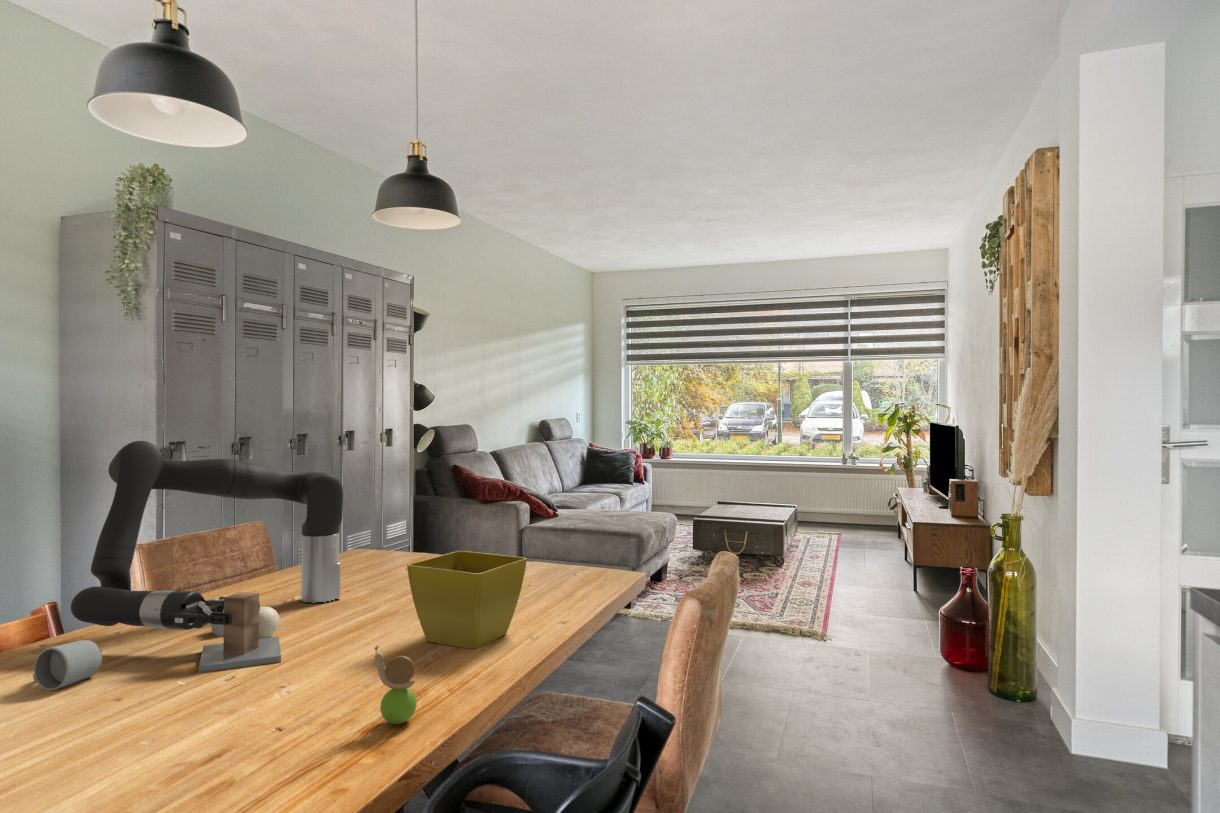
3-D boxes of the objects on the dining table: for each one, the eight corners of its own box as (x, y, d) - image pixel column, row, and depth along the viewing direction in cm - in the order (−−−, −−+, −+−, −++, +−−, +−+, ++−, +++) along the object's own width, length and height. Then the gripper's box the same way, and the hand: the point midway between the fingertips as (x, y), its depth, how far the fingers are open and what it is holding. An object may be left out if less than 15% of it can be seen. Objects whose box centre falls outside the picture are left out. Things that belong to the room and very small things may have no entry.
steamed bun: (286, 633, 160) (286, 603, 160) (267, 643, 153) (268, 611, 153) (257, 632, 161) (258, 602, 161) (237, 642, 154) (238, 610, 154)
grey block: (235, 628, 165) (236, 610, 165) (243, 632, 161) (243, 614, 161) (211, 632, 161) (211, 614, 161) (218, 637, 158) (218, 619, 158)
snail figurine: (378, 716, 116) (379, 640, 116) (419, 715, 116) (419, 640, 116) (369, 730, 110) (370, 651, 110) (412, 729, 111) (413, 650, 111)
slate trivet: (278, 642, 154) (278, 636, 154) (281, 661, 141) (281, 655, 141) (203, 651, 148) (203, 645, 148) (198, 672, 135) (198, 666, 135)
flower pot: (528, 631, 162) (528, 556, 162) (478, 657, 144) (479, 573, 145) (459, 621, 170) (459, 550, 170) (404, 644, 152) (404, 564, 153)
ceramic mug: (106, 676, 133) (106, 636, 134) (66, 692, 126) (66, 649, 126) (60, 673, 135) (60, 633, 136) (18, 688, 128) (18, 646, 128)
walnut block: (238, 646, 147) (238, 592, 147) (258, 647, 146) (259, 592, 147) (223, 653, 143) (223, 597, 143) (244, 654, 142) (244, 598, 142)
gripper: (145, 599, 140) (221, 603, 138) (197, 583, 154) (267, 586, 152) (144, 638, 140) (221, 642, 137) (197, 618, 154) (267, 621, 152)
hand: (245, 613), depth 145 cm, fingers open, 8 cm apart
